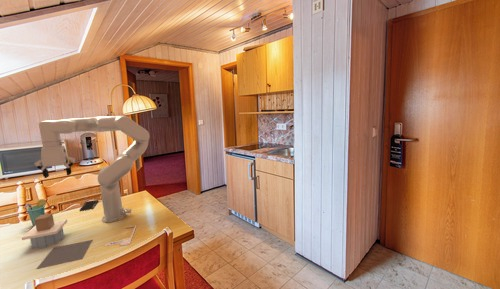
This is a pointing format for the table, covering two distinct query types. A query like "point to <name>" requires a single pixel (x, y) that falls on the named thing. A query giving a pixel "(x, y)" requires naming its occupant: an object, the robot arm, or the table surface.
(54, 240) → the bowl
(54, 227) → the lid
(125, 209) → the robot arm
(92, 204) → the phone
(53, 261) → the mat
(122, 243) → the photo frame
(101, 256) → the table surface
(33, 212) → the cup
